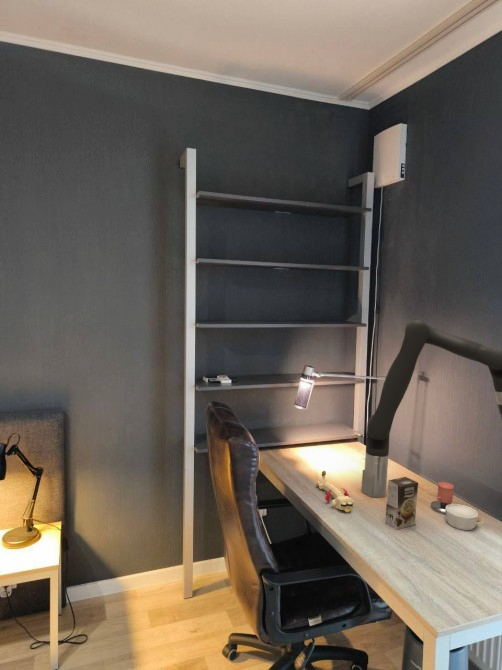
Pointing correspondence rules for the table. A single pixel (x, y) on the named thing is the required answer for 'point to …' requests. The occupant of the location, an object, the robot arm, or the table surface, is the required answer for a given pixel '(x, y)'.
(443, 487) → the cap
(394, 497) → the coffee box
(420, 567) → the table surface
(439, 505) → the grey lamp
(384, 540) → the table surface
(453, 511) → the ramekin
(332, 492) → the cream toy dragon
